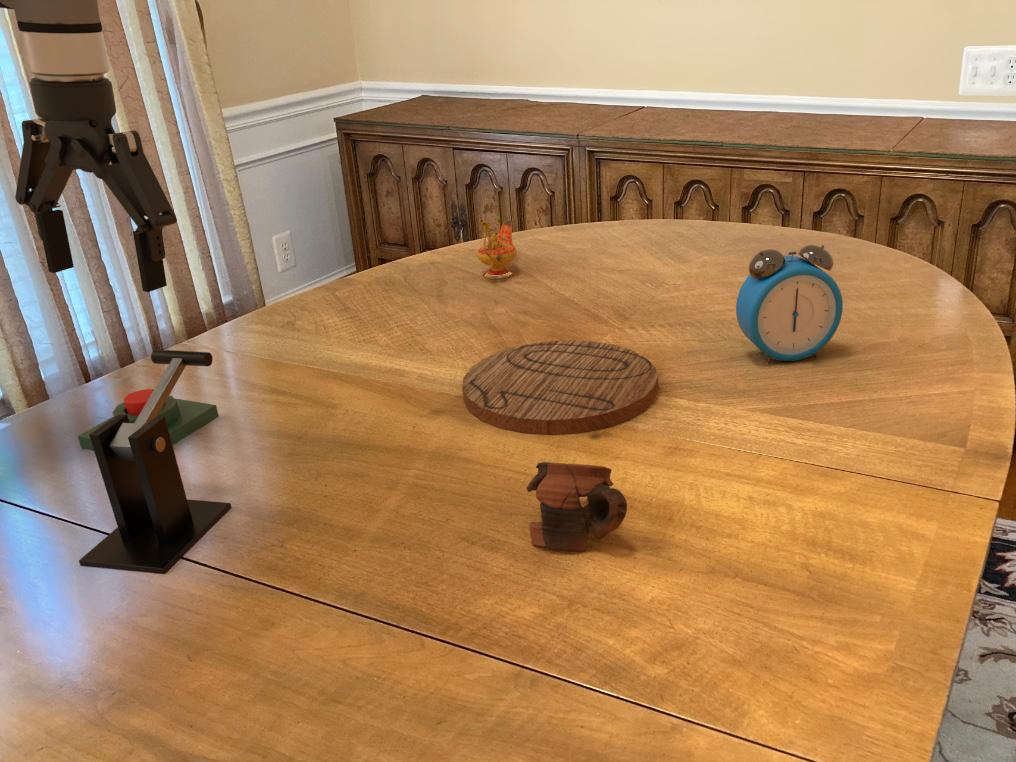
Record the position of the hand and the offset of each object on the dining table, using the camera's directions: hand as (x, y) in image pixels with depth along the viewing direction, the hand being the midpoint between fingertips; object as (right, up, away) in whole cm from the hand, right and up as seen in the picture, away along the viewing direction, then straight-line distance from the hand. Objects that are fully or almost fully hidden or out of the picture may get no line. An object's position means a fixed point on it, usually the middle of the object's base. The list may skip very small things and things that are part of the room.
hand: (107, 279), depth 109 cm
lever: (+12, -15, -13) cm, 23 cm away
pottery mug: (+53, -27, -12) cm, 61 cm away
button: (+1, -14, +7) cm, 16 cm away
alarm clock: (+80, -6, +25) cm, 84 cm away
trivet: (+50, -11, +17) cm, 54 cm away
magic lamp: (+37, +12, +62) cm, 74 cm away
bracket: (+11, -28, -12) cm, 32 cm away
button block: (+1, -17, +9) cm, 20 cm away
